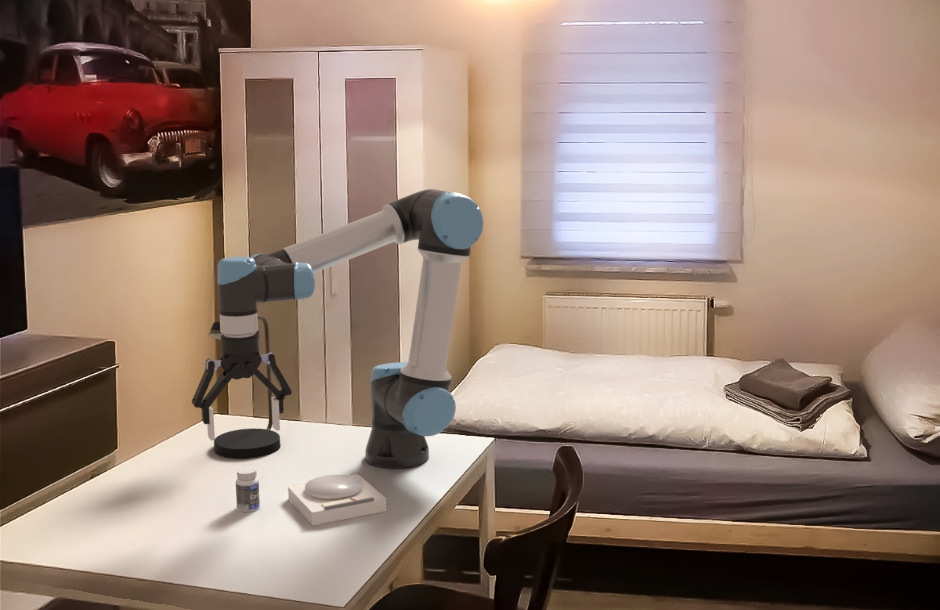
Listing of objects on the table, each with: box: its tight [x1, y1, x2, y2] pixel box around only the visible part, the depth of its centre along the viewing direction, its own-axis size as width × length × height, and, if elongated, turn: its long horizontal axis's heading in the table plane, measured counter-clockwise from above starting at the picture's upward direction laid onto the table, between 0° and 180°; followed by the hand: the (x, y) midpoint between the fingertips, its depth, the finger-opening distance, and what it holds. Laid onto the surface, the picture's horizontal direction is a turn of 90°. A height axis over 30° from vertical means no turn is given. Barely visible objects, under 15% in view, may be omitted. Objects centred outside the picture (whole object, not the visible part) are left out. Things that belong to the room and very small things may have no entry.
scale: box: [287, 473, 387, 526], centre depth 220 cm, size 16×16×4 cm
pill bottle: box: [235, 467, 261, 513], centre depth 218 cm, size 5×5×8 cm
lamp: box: [208, 314, 282, 460], centre depth 254 cm, size 16×22×38 cm
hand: (244, 433), depth 215 cm, fingers open, 13 cm apart
